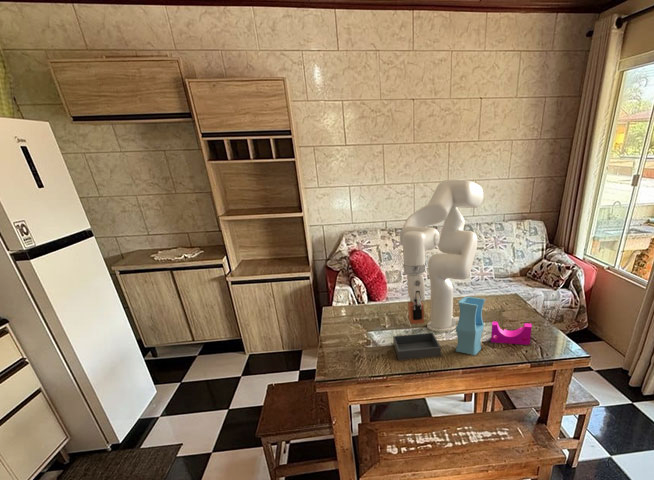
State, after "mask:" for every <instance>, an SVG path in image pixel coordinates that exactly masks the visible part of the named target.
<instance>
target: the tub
mask: <svg viewBox="0 0 654 480" xmlns="http://www.w3.org/2000/svg"><path fill="white" fill-rule="evenodd" d="M392 339H393V340H392V341H393V346H394V350H395V353H396V357H397V359H398V361H404V360H412V359H413V360H414V359H422V358H432V357H442V347H441V344H440V343H439V341H438V340H437V337H436V335H435V334H434V332H425V333H413V334H404V335H395V336H393V337H392Z"/></svg>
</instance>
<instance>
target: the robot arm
mask: <svg viewBox="0 0 654 480" xmlns="http://www.w3.org/2000/svg"><path fill="white" fill-rule="evenodd" d="M483 201H484V189H483V187H482V185H480V184H478V183H476V182H475V181H472V180H468V179H445V180H442V181H440V183H438V185H437V186H436V188H435V190H434V192H433V194H432V196H431V197H430V199H429V201H428V203H427V204H425V205H424V206H422V207H421V208H419V209H417V210H416V211H414V212H413V213H411V214H410V215H409V216H408V217H407V218H406V220H405V222H404V223H403V226H402V228H401V230H400V233H399V242H400V244H401V246H402V254H403V255H402V256H403V274H404V275H406V282H407V294H408V297H409V302H411V301H412V302H413V307H414V309H413V320H420V319H422V308H421V301H422V303H423V302H426V295H425V294H426V290H425V278H424V274H425V273H426V251H427V252H428V251H431V250H434V249H435V248H436V247H438V250H439V251H440V252H441V253H435V254H432V255H431V256H429V259H428V262H427V270H428V275H429V283H430V284H429V285H430V321H429V322H427V324H426V327H427V329H428V330H430V331H432V332H436V333H447V332H451V331H453V330H456V327H457V324H458V322H459V317H460V316H453V315H454V313H453V312H454V286H453V283H452V281H451V280H460V281H461V280H462V281H463V280H467V278H469V276H470V274H471V271H472V267H473V265H474V264H473V263H474V260H475V256H476V253H477V248H478V236H477V233H476V232H474V231H472V230H465V226H466V225H465V224H466V220H465V218H464V216H463V214H462V213H461V211H460V210H459V208H461V209H462V208H463V209H465V208H466V209H477V208H479V207H480V206H481V205H482V203H483ZM441 222H443V226H442V227H441V232H439V231H438V229H436V228H434V227H429V226H432V225H436V224H439V223H441ZM415 303H417V304H416V305H415Z"/></svg>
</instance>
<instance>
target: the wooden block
mask: <svg viewBox="0 0 654 480" xmlns="http://www.w3.org/2000/svg"><path fill="white" fill-rule="evenodd" d="M416 304H417V303H415V305H416ZM421 308H422V319H420V320H413V309H414V307H413V302H412V301H411V302H410V301H407V309H408V321H409V323H410V325H416V324H424V323H425V306H424V303H423V301H422V300H421Z"/></svg>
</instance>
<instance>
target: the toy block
mask: <svg viewBox="0 0 654 480" xmlns="http://www.w3.org/2000/svg"><path fill="white" fill-rule="evenodd" d="M532 324H533V323H530V322H529V323H528V322H524V323H523V325H522V326H521V327H518V328H516V329H513V330H509V329H505V328H504V329H502V328H501V327H500V325H499V322H498V321H494V320H492V323H491V335H490V343H496V344H509V345H512V344H513V345H526V346H530V344H531V338H532V337H531V336H532V329H533V325H532Z"/></svg>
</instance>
